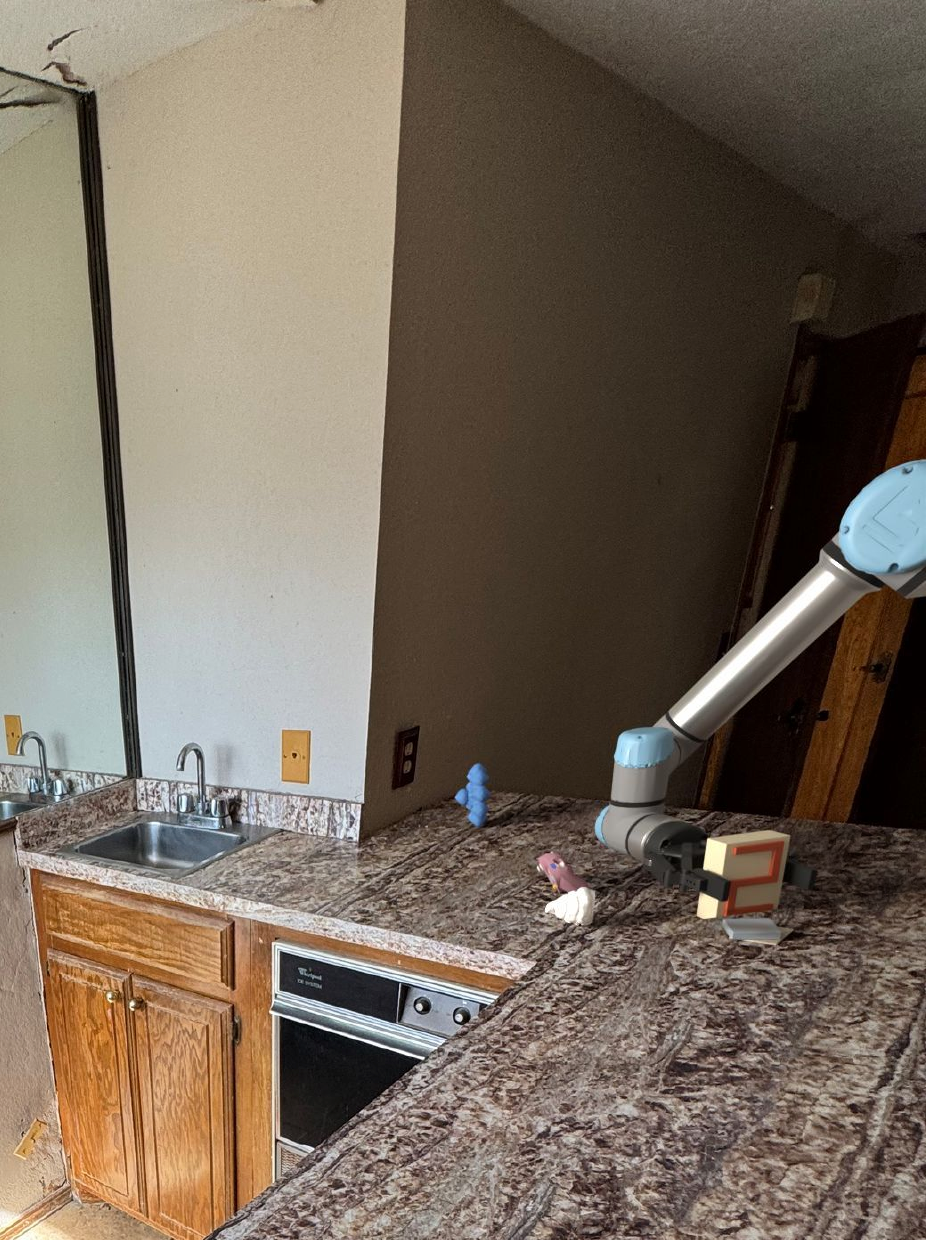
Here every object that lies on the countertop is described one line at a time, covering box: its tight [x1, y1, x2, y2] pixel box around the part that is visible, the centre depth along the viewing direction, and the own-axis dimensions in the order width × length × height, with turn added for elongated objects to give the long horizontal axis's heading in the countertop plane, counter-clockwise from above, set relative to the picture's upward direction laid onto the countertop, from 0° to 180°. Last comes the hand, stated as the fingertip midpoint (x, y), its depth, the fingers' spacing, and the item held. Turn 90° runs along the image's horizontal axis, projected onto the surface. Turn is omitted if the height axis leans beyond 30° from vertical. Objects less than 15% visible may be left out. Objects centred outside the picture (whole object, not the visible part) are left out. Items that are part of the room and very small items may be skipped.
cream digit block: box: [696, 829, 791, 920], centre depth 119 cm, size 8×4×11 cm, turn 89°
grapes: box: [454, 762, 491, 828], centre depth 178 cm, size 12×7×12 cm, turn 166°
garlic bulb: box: [544, 887, 596, 927], centre depth 127 cm, size 6×6×5 cm
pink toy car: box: [536, 851, 591, 894], centre depth 140 cm, size 10×5×7 cm, turn 168°
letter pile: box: [721, 917, 795, 946], centre depth 111 cm, size 12×10×3 cm
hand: (769, 885), depth 114 cm, fingers open, 10 cm apart
